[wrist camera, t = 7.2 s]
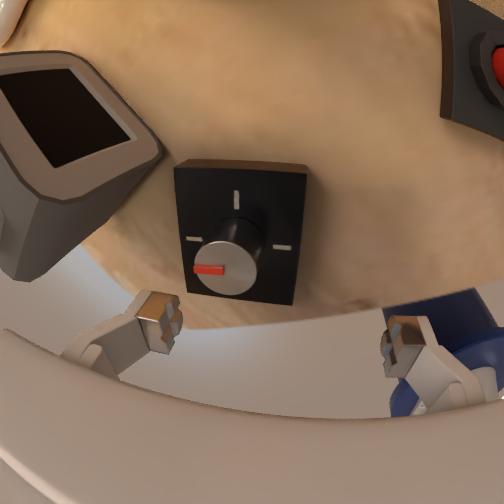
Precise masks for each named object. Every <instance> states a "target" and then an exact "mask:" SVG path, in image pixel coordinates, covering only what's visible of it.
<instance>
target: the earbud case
mask: <svg viewBox="0 0 504 504" xmlns="http://www.w3.org/2000/svg"><path fill="white" fill-rule="evenodd" d="M27 1H28V0H0V47H1V46H3V45H4V44H5V43H6V42H7V41H8V39H9V38H10V36H11V35H12V33H13V31H14V29H15V27H16V25H17V23H18V21H19V19H20V16H21V14H22V12H23V10H24V8H25V6H26V4H27Z"/></svg>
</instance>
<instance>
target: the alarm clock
mask: <svg viewBox="0 0 504 504" xmlns="http://www.w3.org/2000/svg"><path fill="white" fill-rule="evenodd" d="M161 155H162V149H161V144H160V142H159V140H158V139H157V137H156V136H155V134H154V133H153V132H152V130H151V129H150V128H149V127H148V126H147V125H146V124H145V123H144V122H143V121H142V119H141V118H140V117H139V116H138V115H137V114H136V113H135V112H134V111H133V110H132V109H131V107H130V106H129V105H128V104H127V103H126V102H125V101H124V100H123V99H122V98H121V97H120V96H119V94H118V93H117V92H116V91H115V90H114V89H113V88H112V87H111V86H110V85H109V84H108V83H107V81H106V80H105V79H104V78H103V77H102V76H101V75H100V74H99V73H98V72H97V71H96V70H95V69H94V67H93V66H92V65H91V64H89V63H88V62H87V61H86V60H84V59H83V58H82V57H80V56H77V55H75V54H73V53H71V52H65V51H56V50H50V51H22V52H10V53H0V268H1V270H2V271H3V272H5V273H6V274H7V275H8V276H9V277H10V278H12V279H13V280H16V281H23V282H31V281H33V280H35V279H36V278H39V277H40V276H42V275H43V274H45V273H46V272H47V271H48V270H50V268H52V267H53V266H54V265H55V264H56V263H57V262H58V261H60V260H61V259H62V258H63V257H64V256H65V255H66V254H68V253H69V252H70V251H71V250H72V249H74V248H75V247H76V246H77V245H78V244H80V243H81V242H82V241H83V240H84V239H86V238H87V237H88V236H89V235H91V234H92V233H93V232H94V231H96V230H97V229H98V228H99V227H101V226H102V225H103V224H105V223H106V222H107V221H108V220H109V219H110V217H111V216H112V215H113V213H114V212H115V211H116V209H117V208H118V207H119V206H120V204H121V203H122V202H123V201H124V199H125V198H126V197H127V196H128V194H129V193H130V192H131V191H132V189H133V188H134V187H135V186H136V185H137V183H138V182H139V181H140V180H141V179H142V178H143V176H144V175H145V174H146V173H147V172H148V171H149V170H150V168H151V167H152V166H153V165H154V164H155V163H156V162H157V161H158V159H159V158H160V156H161Z"/></svg>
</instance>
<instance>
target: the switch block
mask: <svg viewBox="0 0 504 504" xmlns="http://www.w3.org/2000/svg"><path fill="white" fill-rule="evenodd" d="M438 2H439V10H440V20H441V33H442V95H441V110H440V117H441V118H444V119H447V120H450V121H453V122H456V123H459V124H462V125H465V126H467V127H470V128H473V129H475V130H478V131H481V132H483V133H485V134H488V135H490V136H493V137H495V138H497V139H499V140H502V141H504V89H503V88H502V87H501V86H500V84H499V82H498V81H497V79H496V77H495V74H494V71H493V66H492V56H493V53H494V52H495V50H496V49H498V48H504V20H502V19H500V18H499V17H497V16H496V15H494V14H492V13H491V12H489V11H487V10H485V9H484V8H482V7H480V6H478V5H476V4H474V3H473V2H471V1H469V0H438Z"/></svg>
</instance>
